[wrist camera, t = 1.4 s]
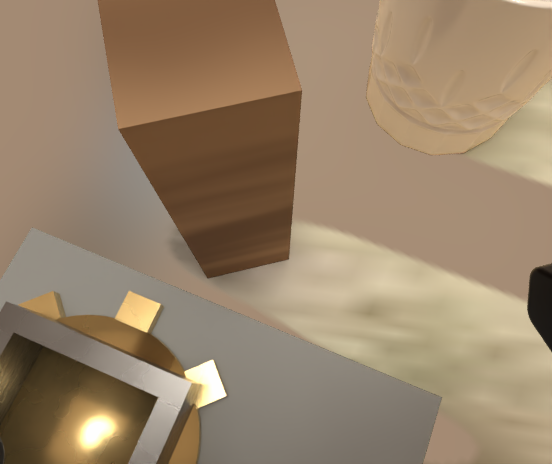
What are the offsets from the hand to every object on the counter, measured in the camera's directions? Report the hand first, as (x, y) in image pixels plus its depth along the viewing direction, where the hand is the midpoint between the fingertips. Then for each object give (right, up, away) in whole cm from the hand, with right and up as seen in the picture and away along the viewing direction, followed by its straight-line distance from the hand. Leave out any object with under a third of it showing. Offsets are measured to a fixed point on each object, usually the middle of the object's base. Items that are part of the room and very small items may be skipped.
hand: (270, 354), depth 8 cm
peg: (-2, +2, +14) cm, 14 cm away
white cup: (+8, +9, +16) cm, 20 cm away
